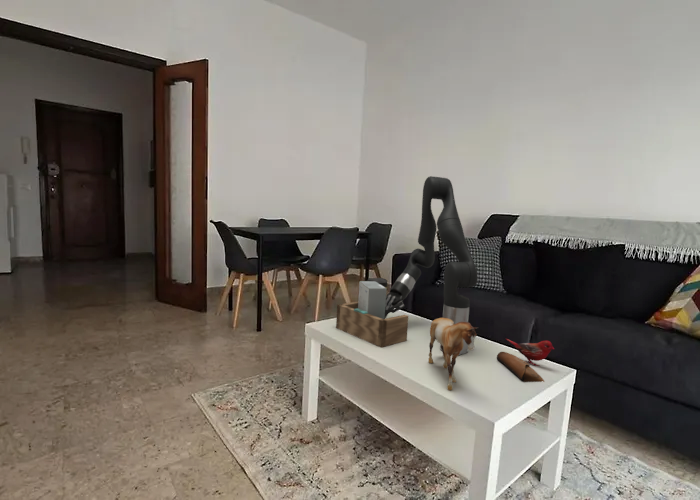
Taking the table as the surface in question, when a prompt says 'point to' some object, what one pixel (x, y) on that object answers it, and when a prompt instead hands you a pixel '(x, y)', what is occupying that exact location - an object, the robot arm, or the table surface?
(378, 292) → the hard drive box
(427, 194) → the robot arm
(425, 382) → the table surface
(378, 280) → the coffee jar
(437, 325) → the horse figurine
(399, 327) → the wooden box
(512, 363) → the sunglasses case
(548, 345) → the decorative bird figurine
